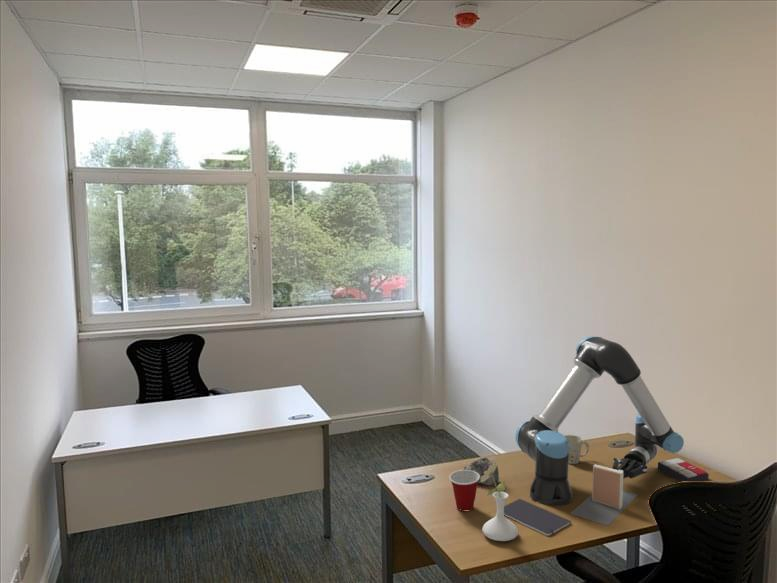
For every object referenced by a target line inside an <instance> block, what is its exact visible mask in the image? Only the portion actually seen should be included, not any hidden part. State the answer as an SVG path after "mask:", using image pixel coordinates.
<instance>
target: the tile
mask: <svg viewBox="0 0 777 583" xmlns="http://www.w3.org/2000/svg"><path fill="white" fill-rule="evenodd" d="M623 491H624V479H623V471H619V470H616V469H612V467H607V466H603V465H601V464H596V463H595V464H593V466H592V491H591V492H592V493H591V495H592V501H595V502H599V503H602V504H605V505H609V506H612V507H615V508H618V509H621V508H622V499H623Z"/></svg>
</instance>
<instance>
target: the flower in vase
mask: <svg viewBox="0 0 777 583" xmlns="http://www.w3.org/2000/svg"><path fill="white" fill-rule="evenodd" d="M495 463H496V464H495ZM496 467H498V463H497V462H496V461H494V463H493V465H490V466H489V468H488V470H487V471H485V472H484V474H485V475H483V476H482V477H481V478H480V479H481V481H480V482H484V481H486V480H487V479H488V478H489V477H490V476H492V478H493V475H492V474H493V472H494V471H495V469H496ZM493 480H494V478H493ZM494 483H495V480H494ZM505 490H506V482H505V481H501V483H499V484H496V483H495V488H492V489H490V490H489V491H488V493H487V496H490V495H492V496H493V498H494V499H495V504H496V514H495V516H494V517H492V518H491V519H489V520H487V521H486V522H485V523H484V524H483V526H482V529H481V530H482V533H483V534H484V535H485V537H486V538H489V539H490V540H493V541H495V542H496V541H497V542H507V541H508V542H509V541H512V540H515V539H516V538H517V537H518V534H519V530H518V527H517V526H516V525H515V524H514V523H513V522H512V521H511V520H509V518H508V517H507V518H506V516H504V506H505V505H506V501H507V499H508V497H509V494H508V493H507V492H505Z"/></svg>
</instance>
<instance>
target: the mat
mask: <svg viewBox="0 0 777 583" xmlns="http://www.w3.org/2000/svg"><path fill="white" fill-rule="evenodd" d="M637 496H638V494H637V493H633V492H629V491H625V490H623V499H622V508H621V509H618V508H615V507H612V506H609V505H605V504H602V503H599V502H595V501H592V494H590V495H589V496H588V497H587V498H586V499H584V501H582V503H580V504H579V505H578V506H577V507H576V508H575V509H573V510H572V511H571V512H570V514H571V515H574V516H577V517H580V518H583V519H587V520H589V521H592V522H595V523H598V524H602V525H604V526H607V527H609V525H610V524H612V522H613V521H614V520H615V519H616V518H617V517H618V516H619V515H620V514H621V513H622V512H623V511H624V510H625V508H627V507H628V506H629V504H631V502H632V501H633V500H635V498H636V497H637Z"/></svg>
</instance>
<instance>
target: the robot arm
mask: <svg viewBox="0 0 777 583" xmlns="http://www.w3.org/2000/svg"><path fill="white" fill-rule="evenodd" d="M575 350H576V353H575V355H576V356H575V357H574V359H573V362H574V365H573V367H572V368H571V370H570V371H569V373H568V374H567V375H566V377H565V378H564V380H563V381H562V383H560V385H559V387H558V388H557V389H556V391H555V392H554V393H553V395H552V396H551V398H550V399H549V400H548V402H547V403H546V405H545V406H544V407H543V409H542V410H541V411H540V413H539V414H536V415H533V416H532V417H531V419H530V420H527V421H524V422H522V423H521V424H519V425H518V427H517V429H516V432H515V442H516V445H517V446H518V448H520V450H521V451H522V452H523V453H524V454H526V455H527V456H528V457H530V458H531V459H532V460H533V461H534V462H535V463H534V464H535V465H534V466H535V467H534V468H535V469H534V470H535V473H534V478H533V480H532V482H531V486H530V489H529V497H530V499H531V500H532V501H534V502H535V503H538V504H542V505H546V506H554V507H555V506H557V507H560V506H566V505H568V504H570V503H572V501H573V494H574V493H573V491H572V488H571V483H570V481H569V463H568V458H569V443H568V440H567V438H566V437H565V435H564V434H563V433H560V432H559V428H560V426H561V425H562V424H563V422H564V421H565V420H566V418H567V416H568V415H569V414H570V413H571V411H572V410H573V408H574V406H576V404H577V403H578V401H579V400H580V399H581V397H582V396H583V394H584V393H585V392H586V390H587V389H588V388H589V386H590V384H591V383H593V380H594V379H598V378H600V377H601V376H602V375H603V373H607V374H608V375H609V376H611V377H612V378H613V379H614V381H615V383H616V384H617V385H620V386H621V387H622V389H623V390H624V392H625V393H626V395H627V397H628V398H629V400H630V401H631V403H632V405H633V406H634V408H635V409H636V410H635V411H637V413H638V414H636V416H635V423H634V424H635V427H634V428H635V435H634V436H635V437H634V447H633V448H632V449H631V450H629V451H628V453H626V454H625V455H624V457H623V458H620V459H618V458H617V457H614V458H613V462H612V467H611V468H612V469H616V470H619V471H623V480H624V479H626V478H629V479H634V478H637V477H639V476H641V475H642V474H647V473H648V466H647V465H648V463H649V462H651V461H652V460H654V459H655V457H656V456H657V454H658V451H659V450H658V447H660V448H661V449H663V450H664V451H667V452H669V453H672V454H675V453H679V452H680V451H681V450H682V449H683V447H684V438H683V436H682V435H681V434H679V433H678V432H675V431H674V429H673V428H672V426H671V425H670V423H669V421H668V420H667V418H666V417H665V415H664V413H663V411H662V410H661V408H660V406H659V405H658V403H657V401H656V400H655V398H654V397H653V394H652V393H651V392H650V390H649V388H648V386H647V384H646V383H645V382H644V379H643V378H642V376H641V374H642V371H641V370H640V367H639V365H638V364H637V363H636V362H635V360H634V358H633V357H632V355H631V354H630V353H629V352H628V350H627V349H626V348H625V347H623V345H621V344H620V343H618V342H615V341H611V340H609V339H605V338H603V337H601V336H593V335H592V336H591V335H590V336H586V337H585V338H583V339H581V340H580V341H579V342H578V344H577V346H576V348H575Z"/></svg>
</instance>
